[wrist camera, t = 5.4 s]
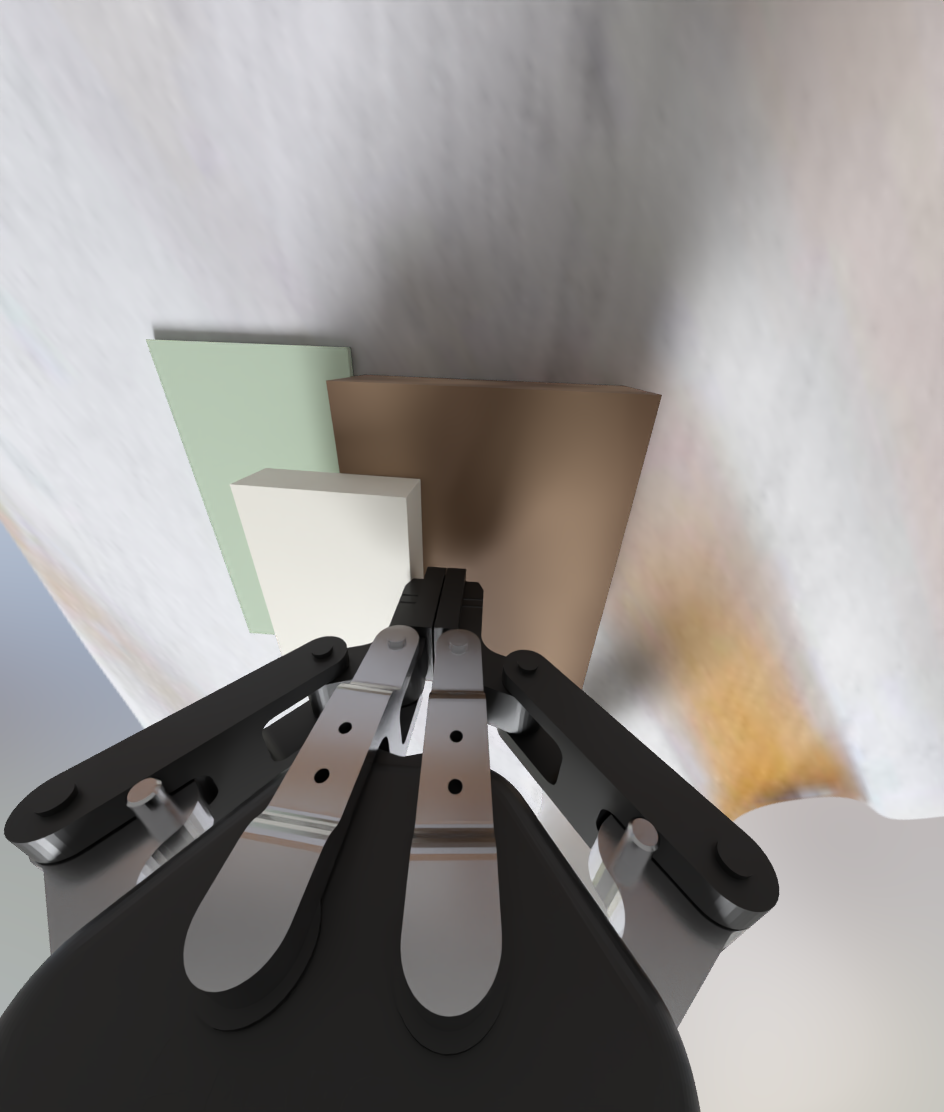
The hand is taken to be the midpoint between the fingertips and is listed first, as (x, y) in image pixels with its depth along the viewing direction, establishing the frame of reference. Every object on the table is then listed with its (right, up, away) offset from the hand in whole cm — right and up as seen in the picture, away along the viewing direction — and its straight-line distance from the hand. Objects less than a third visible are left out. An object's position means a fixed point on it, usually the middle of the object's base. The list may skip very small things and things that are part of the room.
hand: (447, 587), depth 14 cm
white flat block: (-4, +1, +1) cm, 4 cm away
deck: (+2, +3, +5) cm, 5 cm away
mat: (-9, +3, +5) cm, 10 cm away
